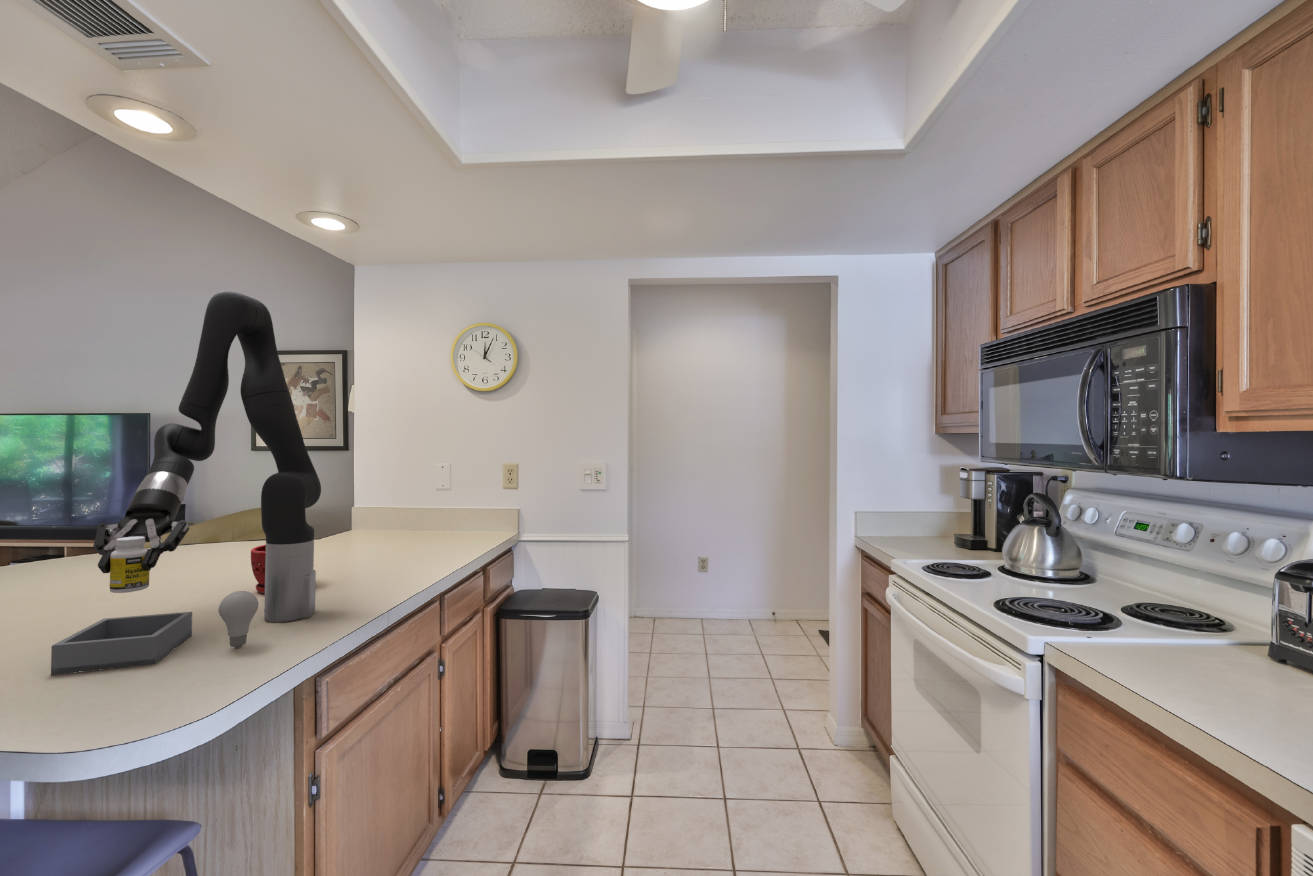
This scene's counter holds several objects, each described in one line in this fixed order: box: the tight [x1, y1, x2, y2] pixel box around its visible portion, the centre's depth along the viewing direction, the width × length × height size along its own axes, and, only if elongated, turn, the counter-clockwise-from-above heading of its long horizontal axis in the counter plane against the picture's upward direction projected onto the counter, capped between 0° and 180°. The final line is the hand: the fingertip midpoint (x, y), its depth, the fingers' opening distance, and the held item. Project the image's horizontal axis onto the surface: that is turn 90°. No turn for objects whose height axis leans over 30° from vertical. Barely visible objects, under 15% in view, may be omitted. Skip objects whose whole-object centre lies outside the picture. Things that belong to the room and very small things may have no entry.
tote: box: [50, 611, 193, 676], centre depth 102 cm, size 14×15×5 cm
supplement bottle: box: [109, 536, 150, 594], centre depth 103 cm, size 5×5×10 cm
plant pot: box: [250, 544, 266, 594], centre depth 147 cm, size 13×13×12 cm
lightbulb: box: [218, 590, 259, 649], centre depth 106 cm, size 6×6×11 cm
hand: (125, 569), depth 102 cm, fingers closed on supplement bottle, 5 cm apart
